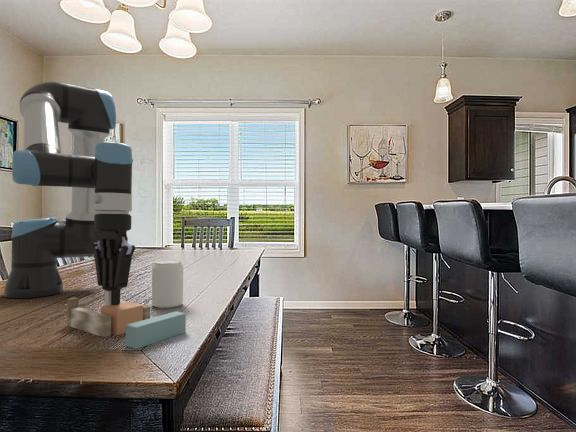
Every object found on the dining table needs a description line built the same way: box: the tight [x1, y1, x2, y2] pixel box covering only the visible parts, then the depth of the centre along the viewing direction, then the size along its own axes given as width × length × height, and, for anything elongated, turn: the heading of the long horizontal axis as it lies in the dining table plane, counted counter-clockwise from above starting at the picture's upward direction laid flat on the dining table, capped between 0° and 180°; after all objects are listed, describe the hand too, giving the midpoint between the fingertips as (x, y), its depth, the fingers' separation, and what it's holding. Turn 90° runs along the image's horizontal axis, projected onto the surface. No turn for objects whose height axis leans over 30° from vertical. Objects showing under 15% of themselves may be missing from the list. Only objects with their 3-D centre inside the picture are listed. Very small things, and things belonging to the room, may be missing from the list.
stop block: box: [125, 310, 187, 350], centre depth 74 cm, size 3×12×4 cm, turn 148°
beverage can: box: [151, 259, 184, 309], centre depth 101 cm, size 8×8×12 cm
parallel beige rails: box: [66, 297, 151, 338], centre depth 83 cm, size 14×11×6 cm
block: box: [100, 301, 144, 336], centre depth 80 cm, size 6×6×5 cm
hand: (111, 318), depth 82 cm, fingers closed
